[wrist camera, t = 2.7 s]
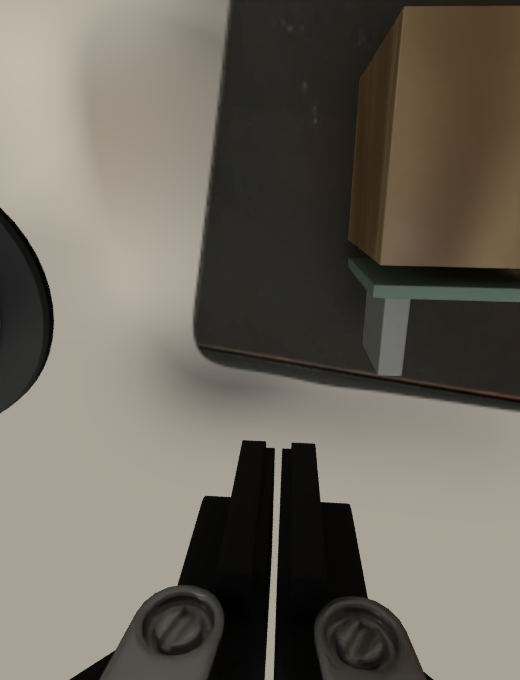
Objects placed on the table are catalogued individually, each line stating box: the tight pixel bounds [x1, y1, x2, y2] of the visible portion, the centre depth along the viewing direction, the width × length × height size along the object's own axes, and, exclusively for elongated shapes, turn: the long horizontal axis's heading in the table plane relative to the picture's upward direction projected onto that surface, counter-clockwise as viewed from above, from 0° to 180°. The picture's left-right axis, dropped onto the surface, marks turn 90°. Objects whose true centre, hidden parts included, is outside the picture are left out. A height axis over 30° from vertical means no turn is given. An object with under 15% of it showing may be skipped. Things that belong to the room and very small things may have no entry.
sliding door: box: [348, 258, 520, 376], centre depth 25 cm, size 8×5×9 cm, turn 89°
